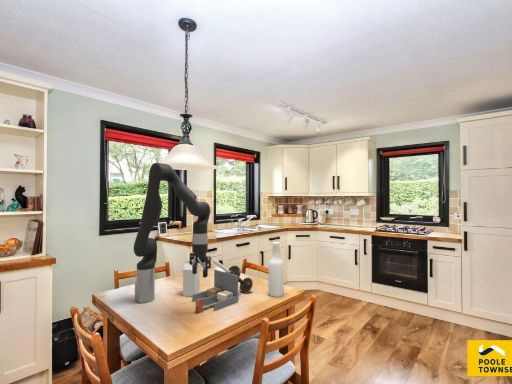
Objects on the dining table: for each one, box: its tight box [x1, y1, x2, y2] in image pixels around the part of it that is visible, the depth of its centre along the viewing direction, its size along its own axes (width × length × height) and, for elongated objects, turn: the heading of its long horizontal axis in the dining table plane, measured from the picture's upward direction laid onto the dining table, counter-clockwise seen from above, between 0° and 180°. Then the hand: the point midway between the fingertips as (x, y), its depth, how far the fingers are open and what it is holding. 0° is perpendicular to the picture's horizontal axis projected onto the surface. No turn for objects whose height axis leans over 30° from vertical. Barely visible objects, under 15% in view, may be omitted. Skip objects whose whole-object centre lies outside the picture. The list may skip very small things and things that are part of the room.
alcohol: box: [267, 241, 285, 298], centre depth 161 cm, size 9×9×30 cm
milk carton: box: [182, 260, 201, 297], centre depth 161 cm, size 7×7×19 cm
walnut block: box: [206, 286, 222, 298], centre depth 155 cm, size 6×6×5 cm
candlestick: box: [211, 257, 254, 294], centre depth 156 cm, size 11×11×35 cm
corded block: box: [195, 290, 233, 314], centre depth 143 cm, size 21×6×6 cm, turn 138°
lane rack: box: [191, 269, 239, 312], centre depth 149 cm, size 16×19×14 cm
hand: (199, 275), depth 137 cm, fingers open, 8 cm apart
